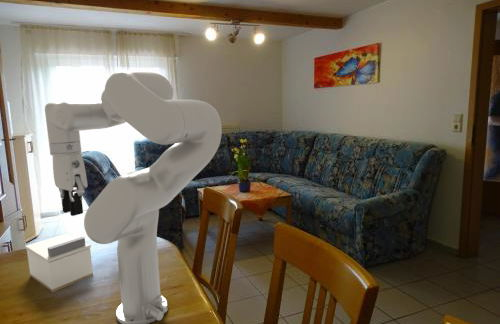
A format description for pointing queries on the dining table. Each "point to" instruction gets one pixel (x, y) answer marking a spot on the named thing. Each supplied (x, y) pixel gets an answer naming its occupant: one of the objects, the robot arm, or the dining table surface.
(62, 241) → the carton lid
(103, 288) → the dining table surface
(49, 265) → the carton
